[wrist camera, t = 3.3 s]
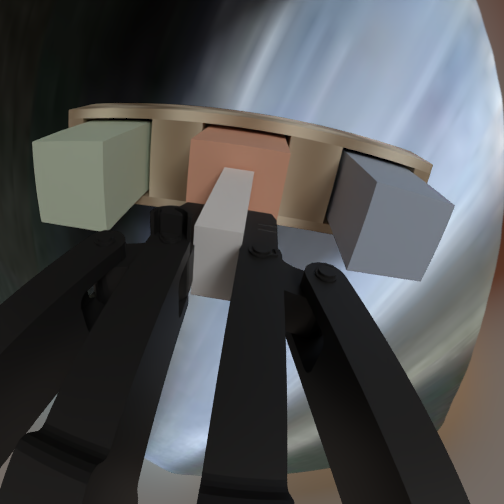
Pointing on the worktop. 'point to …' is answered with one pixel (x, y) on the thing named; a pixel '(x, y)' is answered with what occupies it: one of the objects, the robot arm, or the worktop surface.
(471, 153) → the worktop surface
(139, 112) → the socket rail
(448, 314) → the worktop surface
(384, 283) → the worktop surface
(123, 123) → the sage block
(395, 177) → the slate block
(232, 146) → the terracotta block
